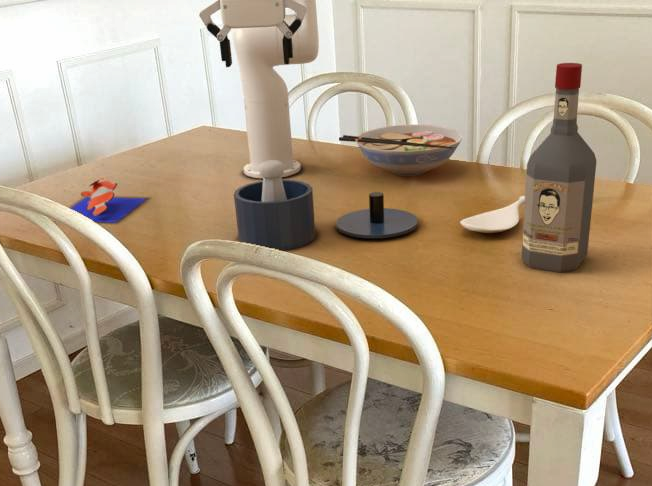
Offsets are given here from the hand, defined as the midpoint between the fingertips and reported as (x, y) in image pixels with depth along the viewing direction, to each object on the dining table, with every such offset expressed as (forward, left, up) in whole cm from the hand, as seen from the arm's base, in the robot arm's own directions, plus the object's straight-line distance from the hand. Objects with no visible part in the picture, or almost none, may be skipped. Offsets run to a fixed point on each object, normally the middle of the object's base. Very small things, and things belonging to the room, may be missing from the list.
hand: (258, 64), depth 145 cm
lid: (0, +19, -28) cm, 34 cm away
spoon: (-3, +46, -29) cm, 55 cm away
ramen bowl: (-35, +27, -29) cm, 53 cm away
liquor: (+20, +47, -29) cm, 59 cm away
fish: (-18, -36, -29) cm, 50 cm away
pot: (+3, +1, -29) cm, 29 cm away
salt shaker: (+3, +1, -29) cm, 29 cm away
